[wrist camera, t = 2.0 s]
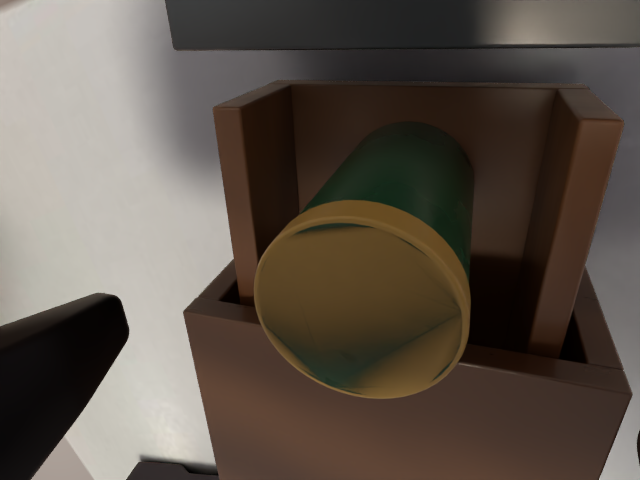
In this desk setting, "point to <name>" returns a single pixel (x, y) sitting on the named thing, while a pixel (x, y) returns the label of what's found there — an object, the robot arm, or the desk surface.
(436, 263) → the tin
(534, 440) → the cabinet
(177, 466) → the calculator
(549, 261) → the drawer
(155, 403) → the desk surface
